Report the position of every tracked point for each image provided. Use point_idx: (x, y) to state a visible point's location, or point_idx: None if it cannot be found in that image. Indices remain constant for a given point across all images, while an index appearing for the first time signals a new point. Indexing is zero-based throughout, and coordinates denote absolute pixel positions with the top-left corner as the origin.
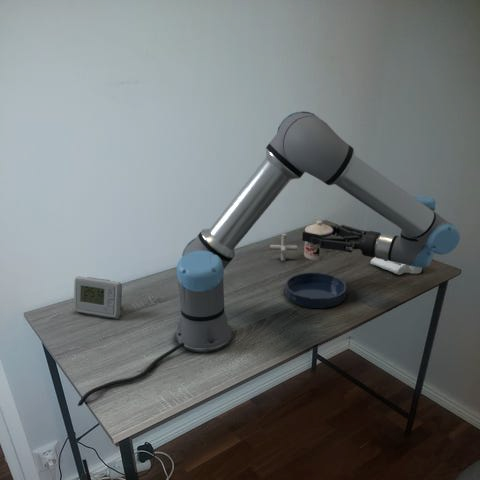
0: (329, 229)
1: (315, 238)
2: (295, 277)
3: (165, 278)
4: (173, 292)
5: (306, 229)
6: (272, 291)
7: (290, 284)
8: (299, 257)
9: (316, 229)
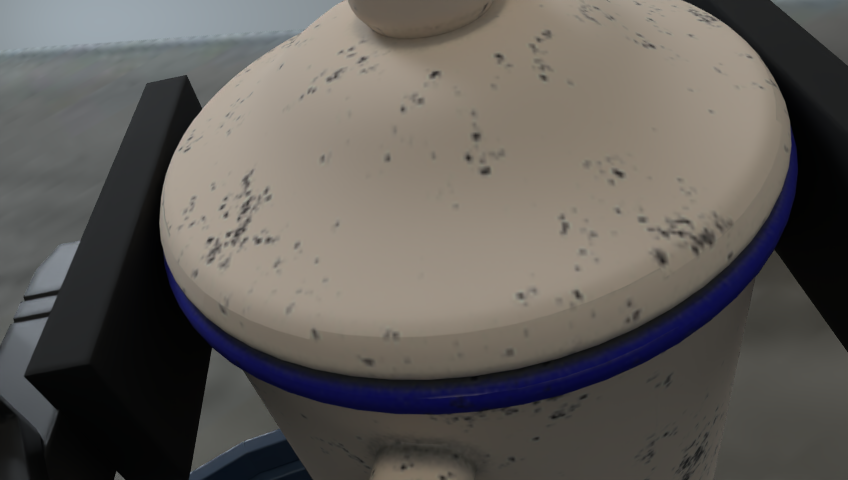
0: (522, 243)
1: (14, 326)
2: None
3: (139, 76)
4: (29, 155)
5: (281, 44)
6: (220, 421)
7: (301, 470)
8: None
9: (252, 116)
